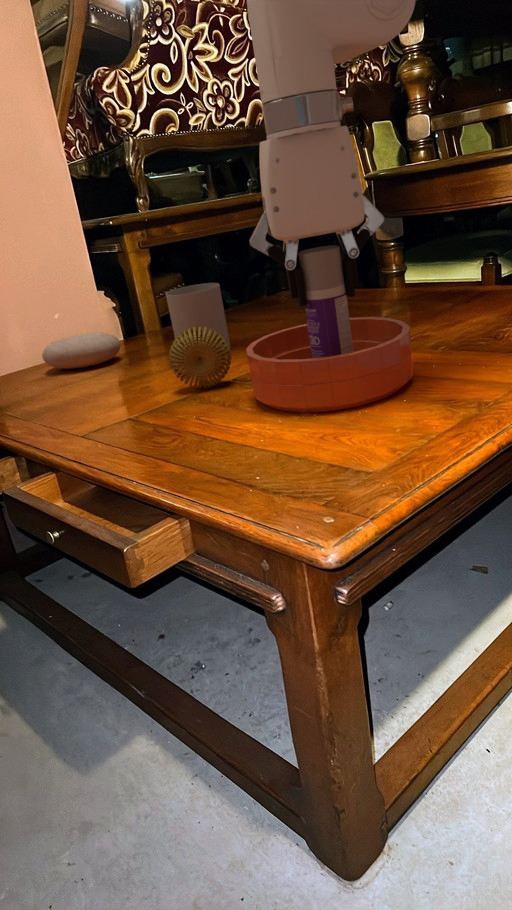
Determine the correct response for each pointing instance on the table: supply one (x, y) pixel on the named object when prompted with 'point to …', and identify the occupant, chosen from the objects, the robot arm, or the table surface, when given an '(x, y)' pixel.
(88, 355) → the decorative stone
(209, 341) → the sculpture
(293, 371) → the bowl
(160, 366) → the table surface
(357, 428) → the table surface
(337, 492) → the table surface
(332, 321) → the container
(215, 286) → the cup
